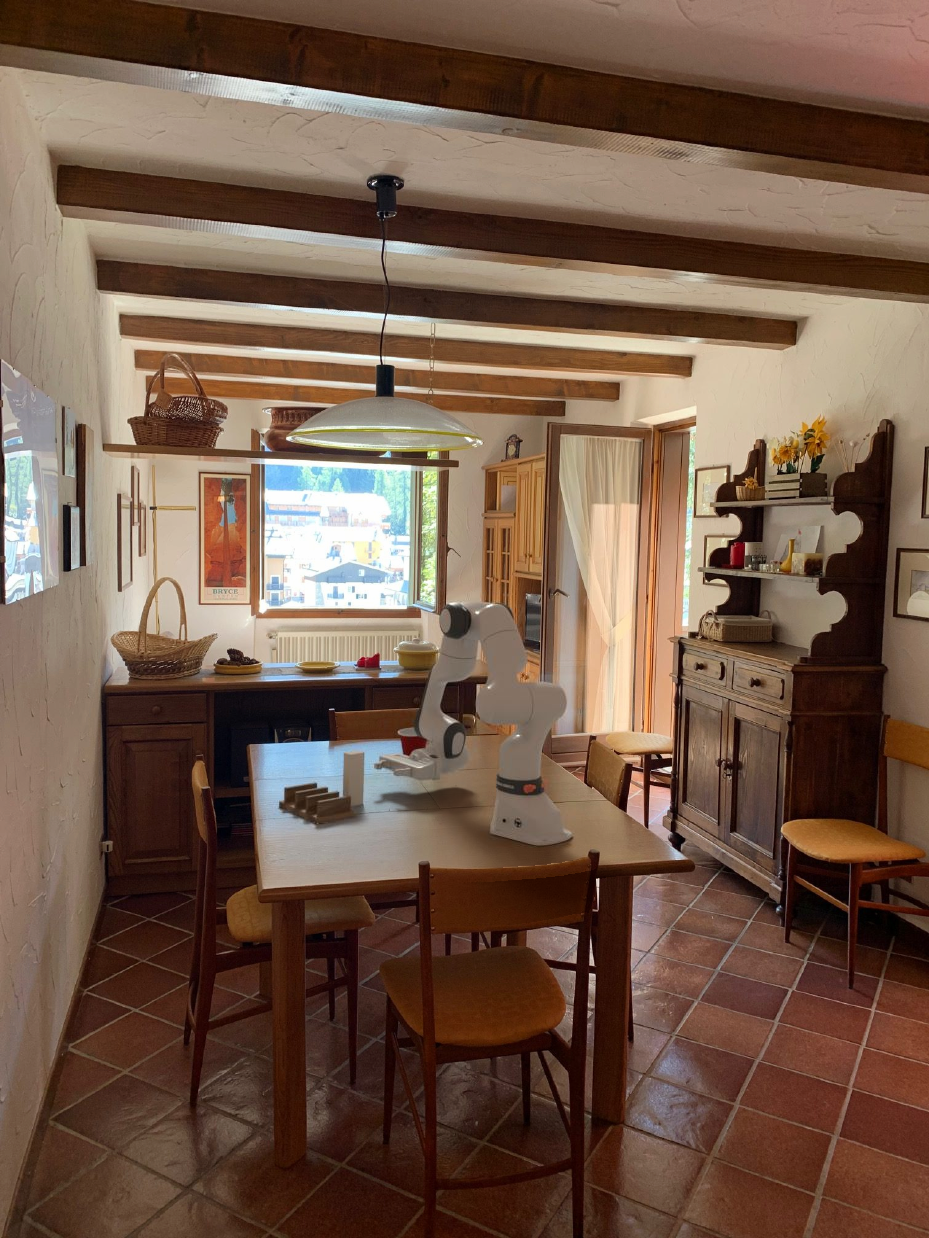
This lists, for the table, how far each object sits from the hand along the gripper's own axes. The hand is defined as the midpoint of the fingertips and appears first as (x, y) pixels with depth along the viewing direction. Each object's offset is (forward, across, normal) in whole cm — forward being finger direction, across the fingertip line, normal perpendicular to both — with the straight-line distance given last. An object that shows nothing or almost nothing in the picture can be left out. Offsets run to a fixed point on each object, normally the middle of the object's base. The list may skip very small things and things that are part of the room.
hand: (385, 769), depth 269 cm
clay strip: (+11, 0, +8) cm, 14 cm away
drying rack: (+23, 0, +8) cm, 25 cm away
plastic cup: (-32, -27, +9) cm, 43 cm away
